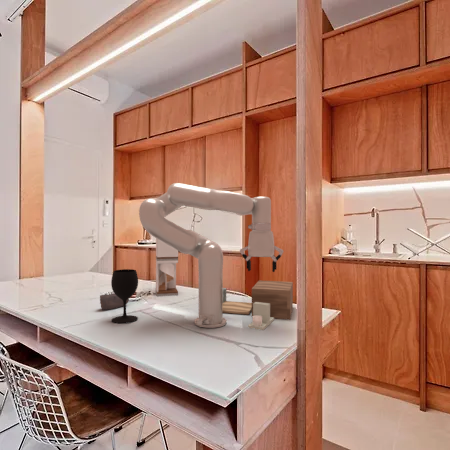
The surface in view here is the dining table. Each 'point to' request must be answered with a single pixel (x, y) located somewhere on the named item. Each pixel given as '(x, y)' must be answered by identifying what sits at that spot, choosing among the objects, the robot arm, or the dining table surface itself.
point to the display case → (165, 269)
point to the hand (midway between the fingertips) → (261, 271)
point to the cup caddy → (261, 316)
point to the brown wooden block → (274, 297)
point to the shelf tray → (235, 306)
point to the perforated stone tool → (111, 301)
